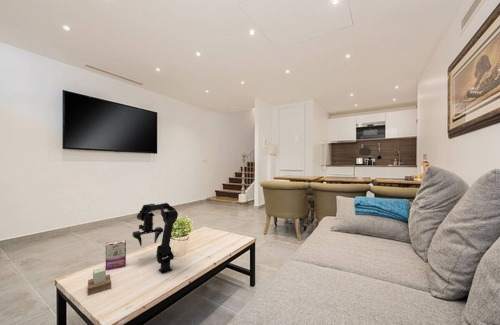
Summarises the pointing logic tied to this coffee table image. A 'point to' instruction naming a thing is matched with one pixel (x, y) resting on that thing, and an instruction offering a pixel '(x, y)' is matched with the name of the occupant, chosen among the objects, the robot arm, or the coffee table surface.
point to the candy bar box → (115, 254)
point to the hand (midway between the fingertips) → (148, 244)
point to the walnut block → (99, 285)
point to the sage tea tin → (99, 275)
